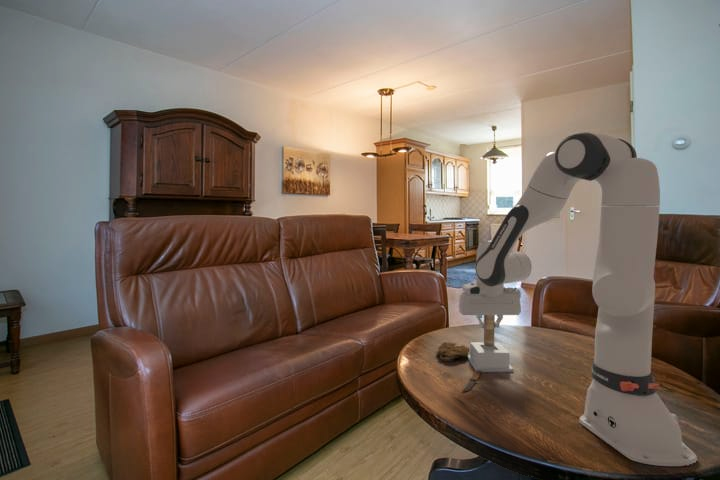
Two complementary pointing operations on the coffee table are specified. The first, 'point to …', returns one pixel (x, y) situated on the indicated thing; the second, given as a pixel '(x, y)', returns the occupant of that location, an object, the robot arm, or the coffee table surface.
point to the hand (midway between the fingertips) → (489, 327)
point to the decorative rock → (452, 351)
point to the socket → (489, 357)
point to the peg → (489, 330)
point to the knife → (473, 380)
